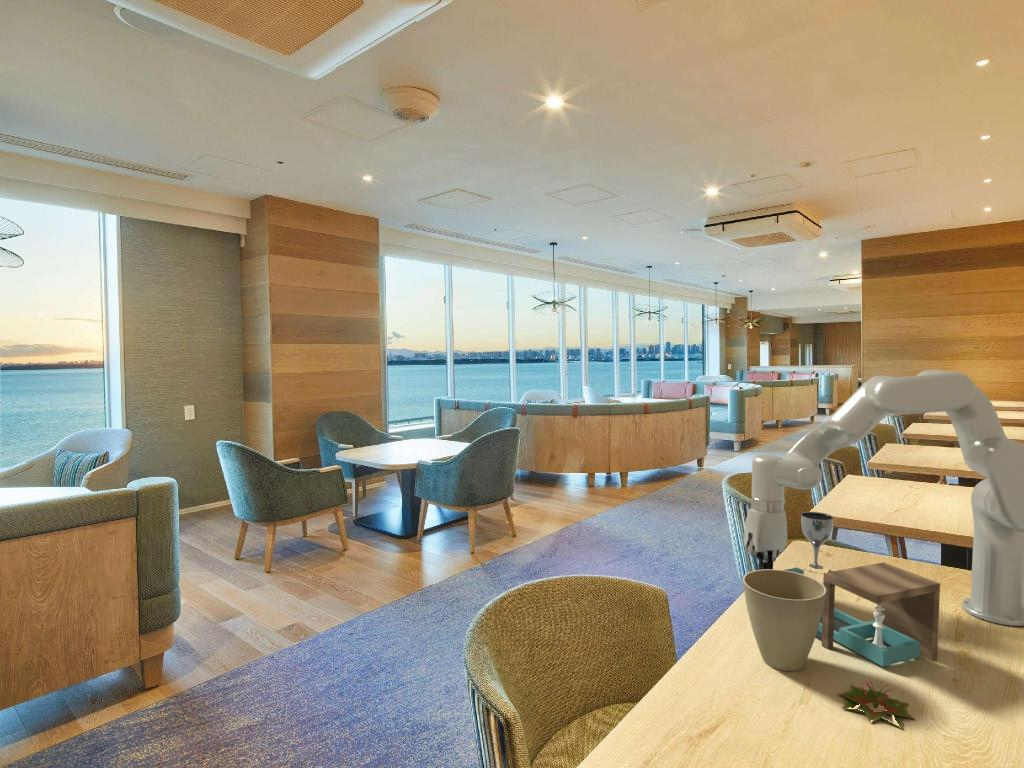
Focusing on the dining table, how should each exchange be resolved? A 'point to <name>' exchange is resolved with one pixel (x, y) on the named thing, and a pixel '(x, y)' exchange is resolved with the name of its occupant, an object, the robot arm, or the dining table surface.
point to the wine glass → (816, 531)
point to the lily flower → (876, 704)
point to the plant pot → (784, 615)
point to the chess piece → (879, 626)
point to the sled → (861, 631)
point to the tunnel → (887, 602)
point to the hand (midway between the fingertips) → (765, 576)
